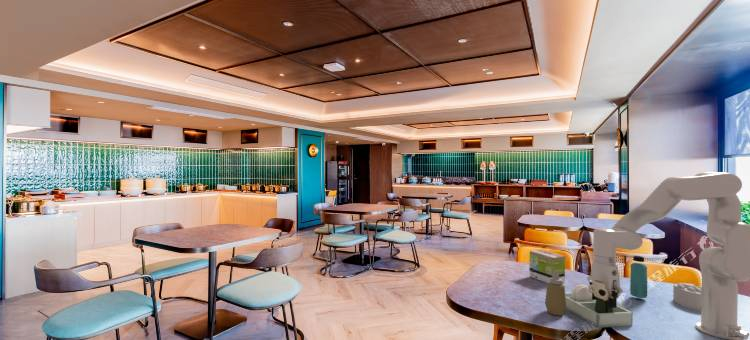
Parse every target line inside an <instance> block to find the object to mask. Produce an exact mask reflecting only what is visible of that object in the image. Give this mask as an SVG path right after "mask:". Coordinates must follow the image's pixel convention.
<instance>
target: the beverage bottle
mask: <svg viewBox="0 0 750 340" xmlns="http://www.w3.org/2000/svg"><path fill="white" fill-rule="evenodd" d="M632 260H633V261H634V262H632V263H631V264H630V274H629V276H630V278H629V283H630V284H629V286H630V287H629V288H630V289H629V293H630V296H632V297H634V298H639V299H646V298H648V290H649V289H648V265H646V264H644V263H645V257H644V256H640V255H634V256H633V259H632Z"/></svg>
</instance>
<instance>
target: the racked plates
mask: <svg viewBox="0 0 750 340" xmlns="http://www.w3.org/2000/svg"><path fill="white" fill-rule="evenodd" d="M591 291H592V289H591ZM571 293H572V299H576V301H588V300H592V293H589V286H588V285H585V284H579V285H576V286H575V287H574V288H573V289H572V291H571Z"/></svg>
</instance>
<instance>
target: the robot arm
mask: <svg viewBox="0 0 750 340" xmlns="http://www.w3.org/2000/svg"><path fill="white" fill-rule="evenodd" d="M742 188H743V183H742V180H741V178H740V177H738V176H737V175H736V174H734V173H731V172H723V171H722V172H721V171H719V172H717V171H715V172H714V171H705V172H699V173H697V174H695V175H694V176H670V177H667V178H665V179H663V181H662V182H660V183H659V184H658V186H657V187H656V188H655V189H654V190H653V191H652V192H651V193H650V194H649V195H648V196H647V197H646V199H645V200H644V201H643V202H642V203H641V204H639V205H638V206H636V207H635V208H633V209H631V210H630V211H629V212H627V213H625V214H624V215H623V216H621V218H619V220H618V221H617V222H616V223H615V224H614V225H613V226H612V228H605V227H604V228H603V227H597V228H595V229H594V230H593V238H592V239H593V251H592V253H593V256H592V257H593V258H592V263H591V269H590V275H589V276H587V280H588V283H589V285H593V280H595V281H596V282H599V283H603V284H605V289H606V290H607V291H608V294H609V296H610V297H608V307H609V308H616V307H617V305H618V304H617V300H618V298H619V297H620V296H621V295H622V294H623V292H624V291H623V289H622V288H621V283H620V282H621V281H620V272H619V267H618V265H617V262H618V261H617V249H621V250H626V251H627V250H628V251H634V250H638V249H640V248H641V247H642V245H643V244H644V243H643V238H642V236H641V235H640V234H639V233H637V231H638V230H639V229H641V228H642V227H643V226H646V225H647V224H650V223H655V222H658V221H661V220H663V219H665V218H666V217H667V216H668V215H669V213H671V212H672V210H674V208H675V207H676V206H678V204H679V203H680V202H681V201H702V200H703V201H704V200H706V201H707V203H708V215H707V225H706V235H707V236H706V237H707V238H708V239H709V240H710V241H712V242H713V243H716V244H719V245H721V246H724V248H723V247H720V246H710V247H707V248H704V249H703V250H702V251H701V252H700V253H699V255H698V256H699V257H698V263H699V268H700V274H701V286H702V297H701V310H700V321H697V322H696V323H695V328H696V330H698V331H701V332H702V333H704V334H705V335H709V336H712V337H716V338H720V339H724V340H748V339H749V337H750V333H749V332H747V331H744V330H742V326H741V325H740V324H738V307H739V306H738V302H739V300H738V299H739V298H738V297H739V296H738V295H739V285H738V282H748V281H749V280H750V224H749V223H746V222H742V203H741V201H740V199H739V196H738V195H737V193H739V192H740V191H741V189H742ZM612 286H613V289H611V288H612ZM591 289H592V291H593V287H591ZM611 291H613V294H612V292H611ZM597 298H598V297H596V296H594V293H592V300H596V299H597Z"/></svg>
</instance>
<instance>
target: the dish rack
mask: <svg viewBox="0 0 750 340" xmlns="http://www.w3.org/2000/svg"><path fill="white" fill-rule="evenodd" d="M565 296H566V309H565V310H567V311H568V312H571V314H572V313H573V315H575V316H578V317H579V318H581V317H582V318H584V319H585V320H584V319H583V320H584V321H586V320H588V321H589V322H591V323H593V324H594V325H596V326H595V327H596V328H599V329H600V328H612V327H614V328H615V327H627V326H628V327H630V326H633V321H634V320H633V318H634V317H633V316H634V315H633V311H631V310H629V309H626V308H624V307H621V306H620V305H618V304H617V307H616V308H613V313H597V312H596V311H595V303H596V300H588V301H576V299H572V292H565ZM582 318H581V319H582ZM588 321H587V322H588ZM589 322H588V323H589ZM591 323H590V324H591ZM593 324H592V325H593ZM594 325H593V326H594Z"/></svg>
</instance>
